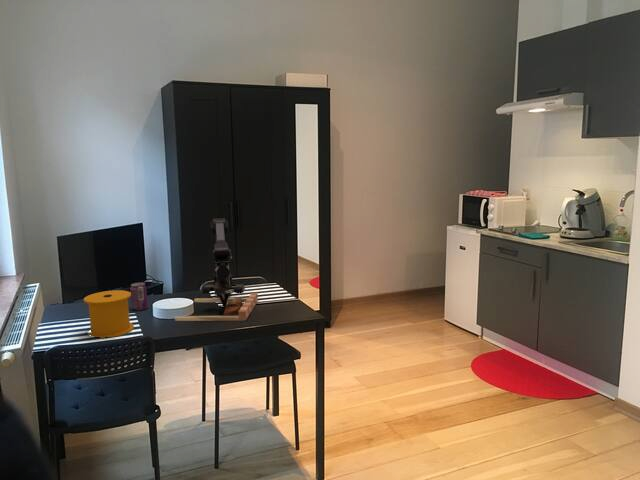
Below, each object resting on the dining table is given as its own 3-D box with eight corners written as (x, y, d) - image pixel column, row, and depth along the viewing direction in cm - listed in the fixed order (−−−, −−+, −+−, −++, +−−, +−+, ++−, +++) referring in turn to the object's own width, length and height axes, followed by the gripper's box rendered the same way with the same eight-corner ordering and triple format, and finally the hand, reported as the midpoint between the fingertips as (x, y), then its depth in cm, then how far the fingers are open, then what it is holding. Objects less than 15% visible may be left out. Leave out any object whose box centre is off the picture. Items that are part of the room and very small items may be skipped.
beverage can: (150, 306, 248) (148, 282, 246) (144, 311, 241) (141, 286, 239) (136, 306, 249) (134, 282, 247) (129, 311, 242) (127, 286, 240)
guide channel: (195, 301, 256) (194, 293, 255) (257, 300, 254) (257, 292, 253) (175, 320, 226) (174, 312, 225) (245, 320, 224) (245, 311, 223)
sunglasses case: (224, 304, 249) (231, 292, 249) (237, 310, 251) (244, 298, 250) (223, 315, 232) (230, 302, 231) (237, 322, 233) (244, 309, 233)
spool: (87, 341, 204) (83, 304, 202) (87, 327, 220) (83, 293, 218) (135, 333, 211) (132, 298, 209) (132, 321, 227) (129, 287, 225)
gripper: (197, 278, 229) (199, 312, 232) (239, 278, 228) (241, 312, 231) (204, 272, 240) (206, 305, 243) (244, 272, 239) (246, 305, 242)
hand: (224, 307), depth 239 cm, fingers closed
